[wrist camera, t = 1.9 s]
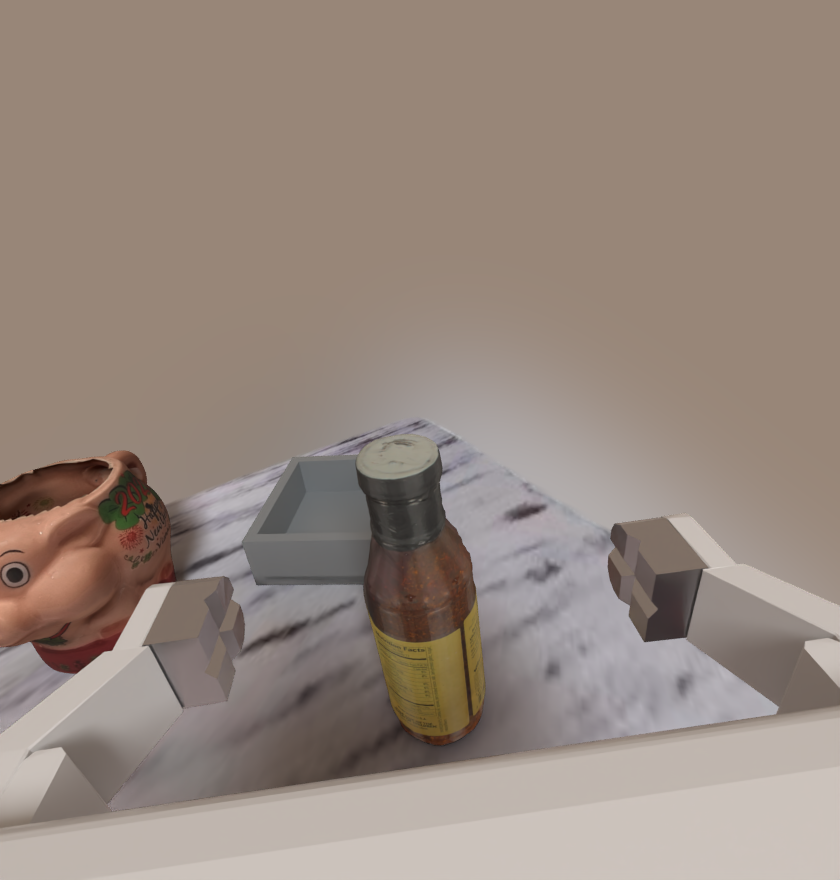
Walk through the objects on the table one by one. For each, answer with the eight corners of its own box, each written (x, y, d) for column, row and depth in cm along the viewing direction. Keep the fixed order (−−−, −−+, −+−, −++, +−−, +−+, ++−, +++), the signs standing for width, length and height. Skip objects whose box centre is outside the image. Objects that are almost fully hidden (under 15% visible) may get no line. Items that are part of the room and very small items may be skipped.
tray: (256, 584, 44) (241, 542, 42) (302, 494, 57) (292, 457, 54) (410, 583, 43) (403, 539, 40) (423, 490, 55) (418, 452, 53)
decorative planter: (101, 548, 51) (39, 430, 45) (220, 529, 52) (176, 411, 46) (-23, 738, 34) (-155, 591, 27) (158, 704, 35) (73, 555, 28)
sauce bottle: (442, 647, 37) (415, 406, 27) (506, 706, 32) (500, 442, 23) (370, 705, 33) (311, 452, 24) (431, 779, 29) (388, 505, 19)
